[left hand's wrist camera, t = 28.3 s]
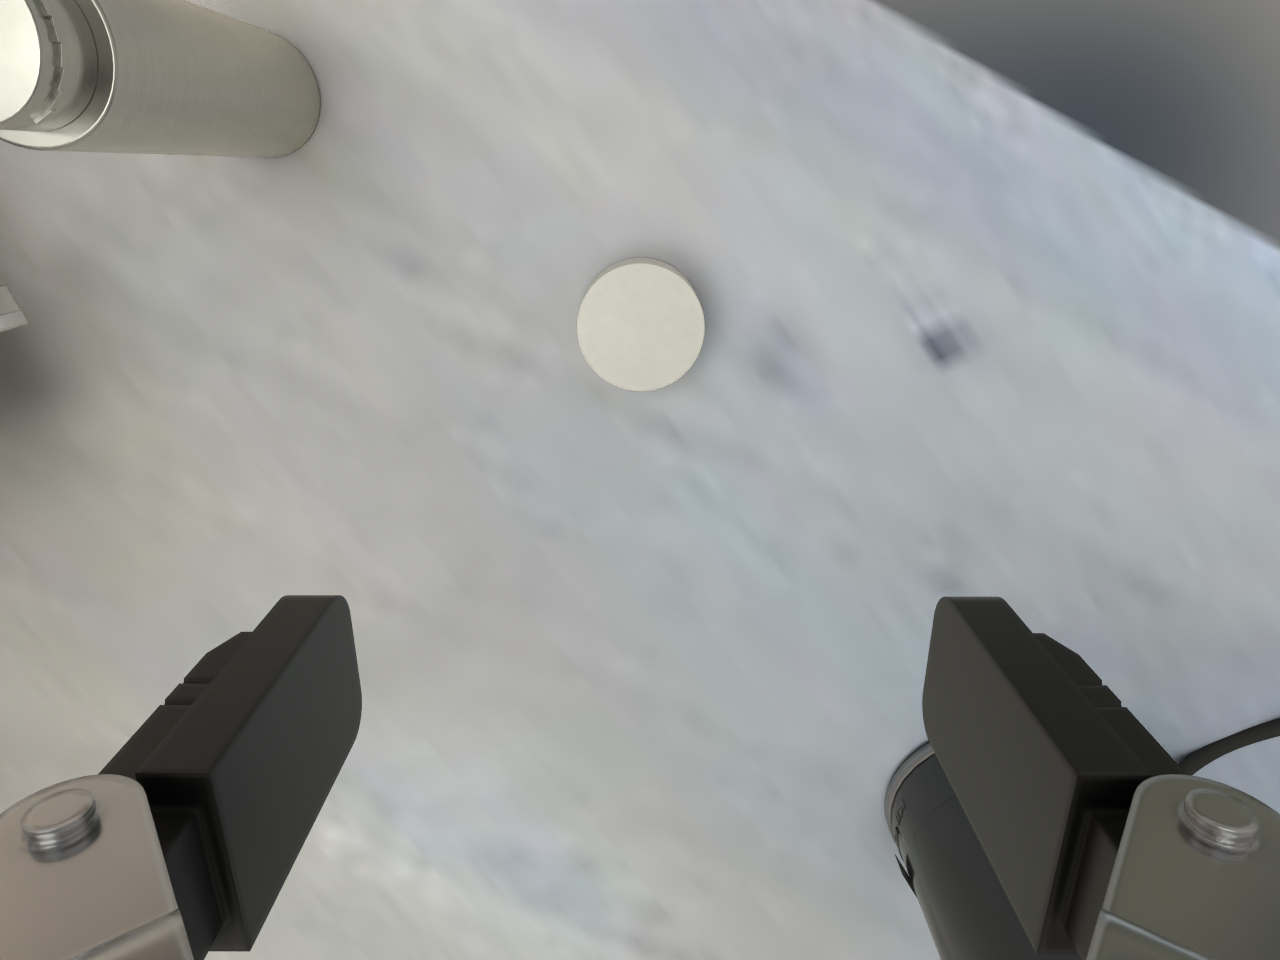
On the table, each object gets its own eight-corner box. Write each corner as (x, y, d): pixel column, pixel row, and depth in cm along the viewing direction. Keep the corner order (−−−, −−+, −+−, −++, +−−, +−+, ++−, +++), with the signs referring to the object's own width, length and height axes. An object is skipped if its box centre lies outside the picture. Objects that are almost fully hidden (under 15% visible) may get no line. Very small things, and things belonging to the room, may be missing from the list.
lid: (603, 239, 35) (600, 244, 33) (719, 282, 36) (724, 290, 33) (564, 355, 37) (559, 367, 34) (675, 394, 37) (678, 408, 35)
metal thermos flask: (341, 132, 33) (101, 103, 19) (239, 174, 34) (-71, 178, 19) (285, 10, 32) (-23, -129, 17) (180, 55, 32) (-208, -41, 18)
